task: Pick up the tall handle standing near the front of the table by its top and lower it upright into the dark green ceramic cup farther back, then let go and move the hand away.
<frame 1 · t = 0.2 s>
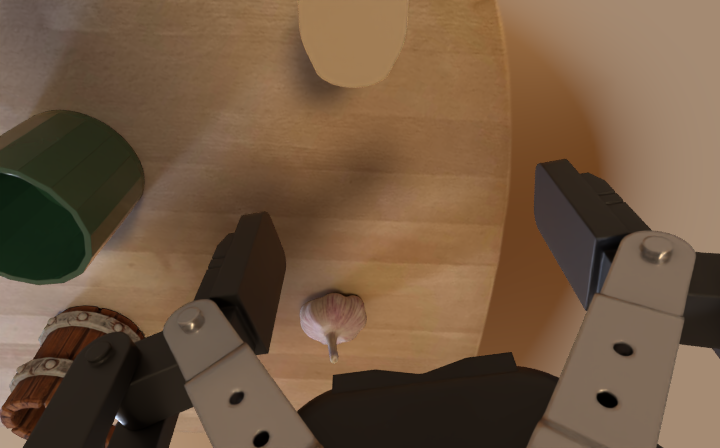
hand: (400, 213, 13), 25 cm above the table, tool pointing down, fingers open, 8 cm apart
mug: (114, 339, 54), on the table
cup: (83, 166, 40), on the table
garlic bulb: (333, 303, 51), on the table
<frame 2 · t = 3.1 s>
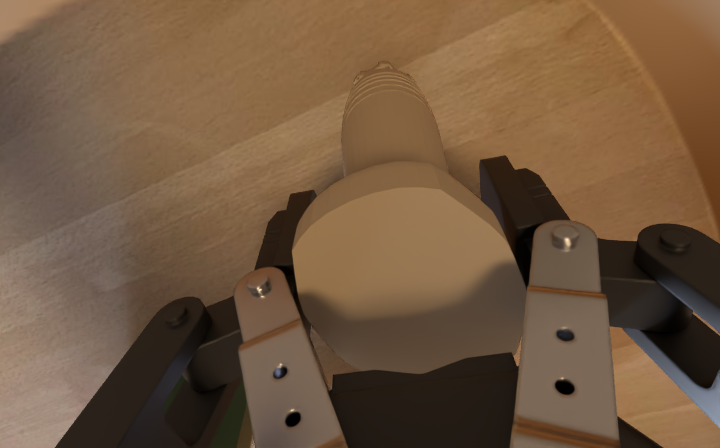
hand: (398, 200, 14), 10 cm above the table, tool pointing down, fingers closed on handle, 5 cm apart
handle: (382, 90, 22), on the table, touching gripper
cup: (197, 387, 37), on the table
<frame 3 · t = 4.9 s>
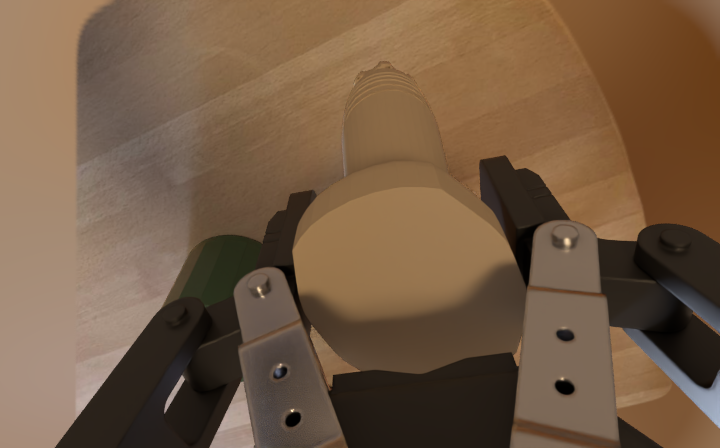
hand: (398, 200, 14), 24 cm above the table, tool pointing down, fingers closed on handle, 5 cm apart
handle: (382, 90, 22), point 14 cm above the table, touching gripper
cup: (237, 274, 48), on the table
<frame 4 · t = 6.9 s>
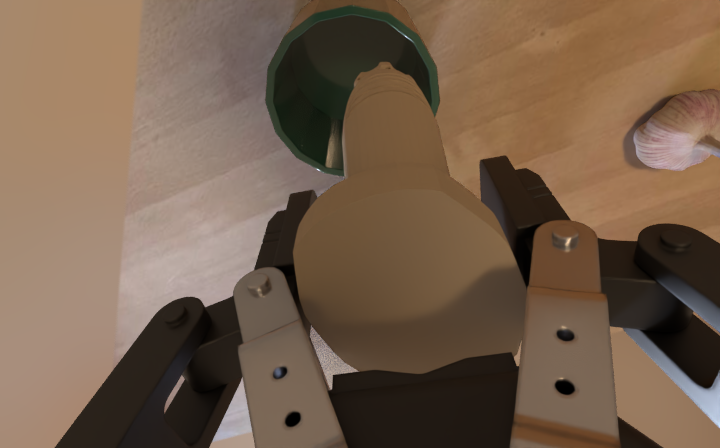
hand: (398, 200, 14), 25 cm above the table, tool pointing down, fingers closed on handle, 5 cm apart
handle: (383, 91, 22), point 15 cm above the table, touching gripper
cup: (353, 59, 36), on the table
garlic bulb: (668, 121, 39), on the table
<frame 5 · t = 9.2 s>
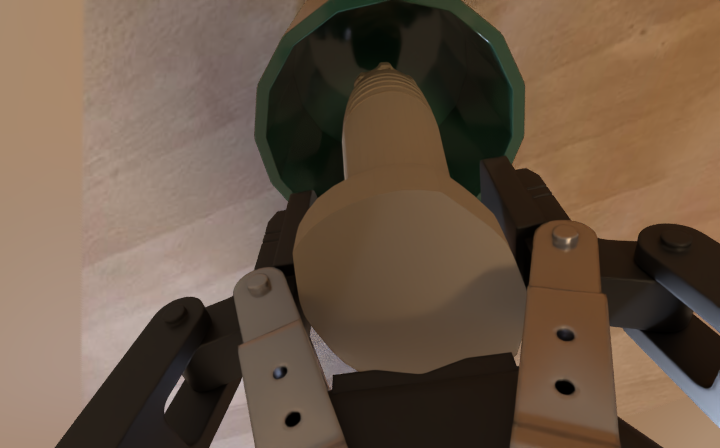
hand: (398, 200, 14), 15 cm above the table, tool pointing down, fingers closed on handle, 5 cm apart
handle: (383, 91, 22), point 4 cm above the table, touching gripper
cup: (379, 69, 26), on the table
when the fingers open (11 cm above the table, at t = 10.8 s): handle stays where it is, resting on cup.
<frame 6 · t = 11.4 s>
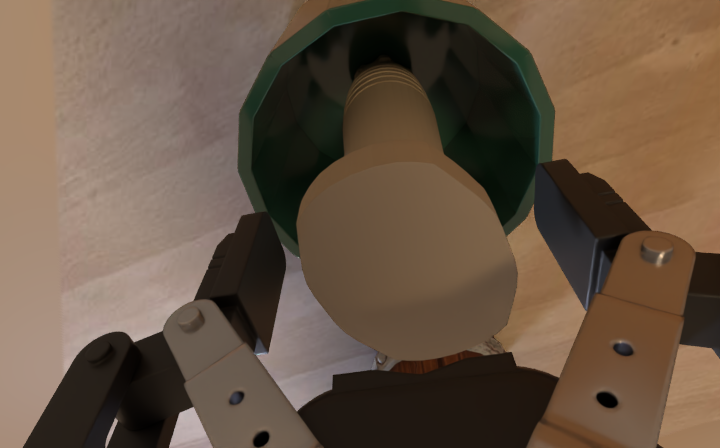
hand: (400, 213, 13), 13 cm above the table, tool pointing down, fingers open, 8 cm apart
mug: (453, 358, 38), on the table
handle: (382, 83, 23), point 1 cm above the table, touching cup
cup: (382, 82, 23), on the table
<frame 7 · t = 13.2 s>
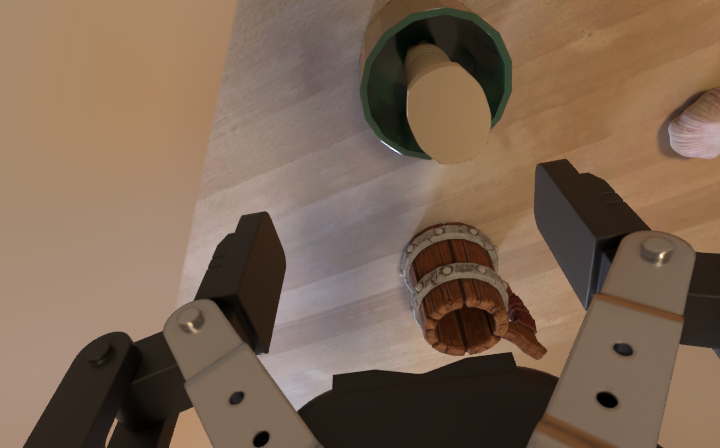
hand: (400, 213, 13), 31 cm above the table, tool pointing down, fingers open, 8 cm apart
mug: (458, 257, 54), on the table
handle: (420, 57, 39), point 1 cm above the table, touching cup
cup: (419, 57, 40), on the table
garlic bulb: (699, 114, 43), on the table
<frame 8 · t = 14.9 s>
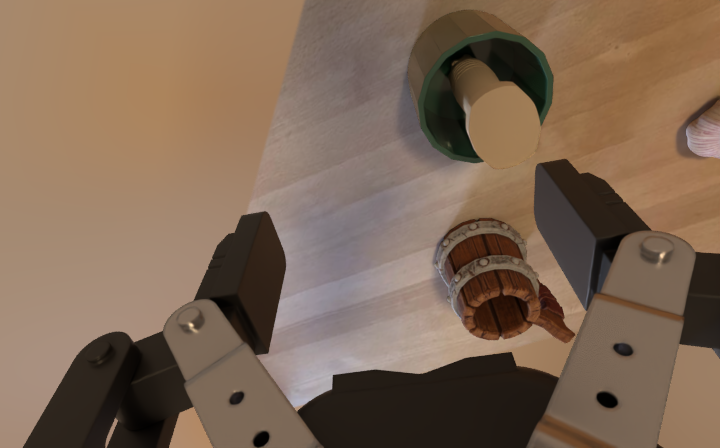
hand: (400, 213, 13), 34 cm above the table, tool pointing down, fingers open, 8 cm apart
mug: (488, 250, 58), on the table
handle: (462, 69, 43), point 1 cm above the table, touching cup
cup: (461, 68, 44), on the table
garlic bulb: (714, 117, 47), on the table
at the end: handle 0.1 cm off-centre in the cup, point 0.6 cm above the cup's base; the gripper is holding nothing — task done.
